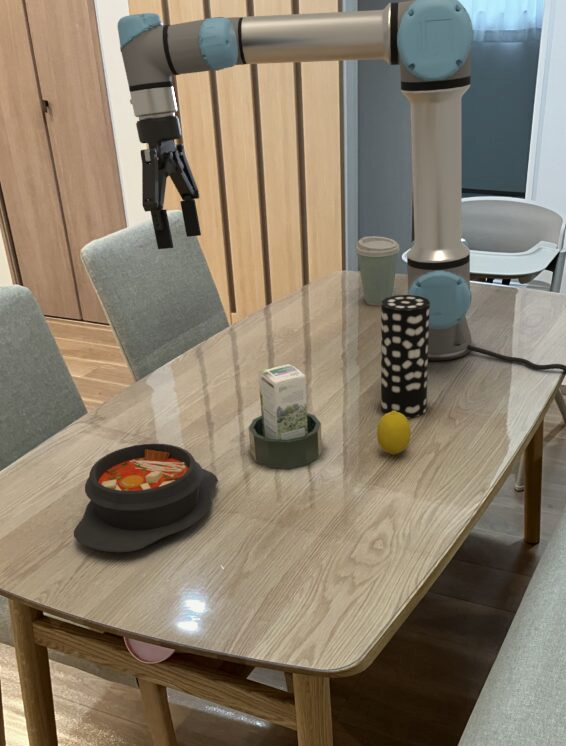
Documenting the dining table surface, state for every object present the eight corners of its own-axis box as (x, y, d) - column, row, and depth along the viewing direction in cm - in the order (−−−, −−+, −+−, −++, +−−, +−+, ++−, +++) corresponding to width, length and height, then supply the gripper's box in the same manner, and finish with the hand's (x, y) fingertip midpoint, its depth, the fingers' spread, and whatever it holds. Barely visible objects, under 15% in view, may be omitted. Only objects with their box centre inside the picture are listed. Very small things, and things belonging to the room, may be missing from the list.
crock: (326, 438, 143) (325, 411, 141) (314, 470, 134) (312, 443, 131) (261, 434, 145) (259, 408, 142) (244, 466, 135) (241, 439, 133)
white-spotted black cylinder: (432, 403, 154) (436, 297, 143) (417, 421, 148) (420, 312, 137) (390, 396, 157) (391, 292, 147) (374, 414, 151) (373, 307, 140)
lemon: (387, 465, 134) (388, 421, 130) (371, 452, 139) (370, 408, 134) (416, 457, 136) (417, 413, 132) (399, 444, 141) (399, 401, 136)
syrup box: (293, 440, 143) (288, 361, 135) (310, 454, 138) (305, 373, 131) (263, 449, 140) (256, 369, 133) (279, 463, 136) (273, 381, 128)
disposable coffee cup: (405, 297, 207) (406, 236, 199) (390, 311, 199) (390, 247, 191) (366, 293, 211) (365, 233, 203) (349, 306, 203) (348, 244, 195)
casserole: (148, 466, 136) (141, 420, 132) (246, 488, 130) (242, 440, 125) (45, 546, 117) (31, 495, 113) (153, 576, 110) (144, 523, 106)
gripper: (165, 116, 157) (187, 232, 166) (104, 122, 135) (133, 255, 145) (202, 111, 155) (222, 229, 164) (146, 117, 134) (172, 252, 143)
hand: (180, 242), depth 155 cm, fingers open, 13 cm apart
